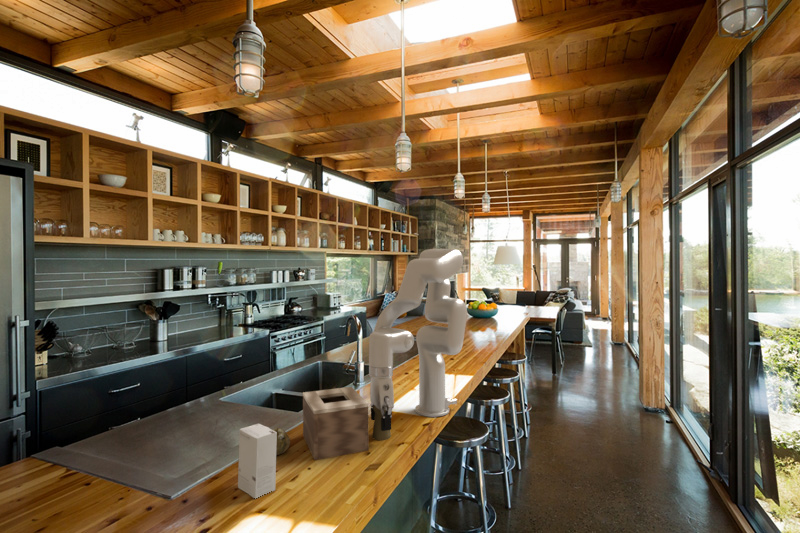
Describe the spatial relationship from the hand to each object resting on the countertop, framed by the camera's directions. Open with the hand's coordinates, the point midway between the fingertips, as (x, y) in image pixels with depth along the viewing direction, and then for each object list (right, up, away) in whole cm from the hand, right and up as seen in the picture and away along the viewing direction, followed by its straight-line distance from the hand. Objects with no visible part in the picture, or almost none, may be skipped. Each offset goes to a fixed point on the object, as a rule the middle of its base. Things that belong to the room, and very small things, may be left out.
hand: (380, 424), depth 139 cm
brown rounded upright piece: (0, -4, 0) cm, 4 cm away
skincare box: (-29, -5, -31) cm, 43 cm away
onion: (-30, -5, -11) cm, 32 cm away
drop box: (-14, -4, -4) cm, 15 cm away
